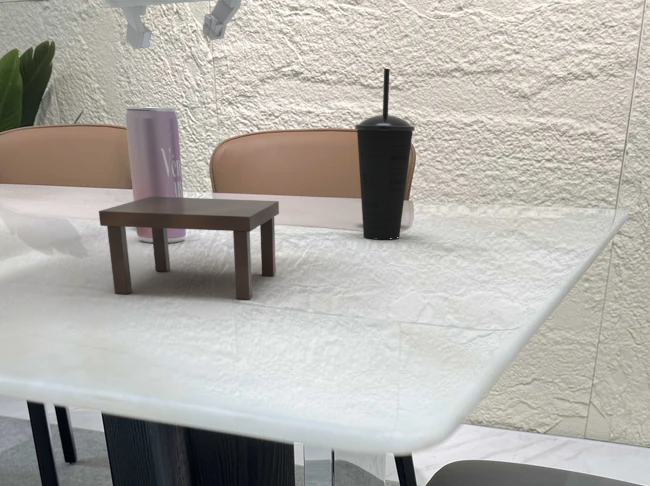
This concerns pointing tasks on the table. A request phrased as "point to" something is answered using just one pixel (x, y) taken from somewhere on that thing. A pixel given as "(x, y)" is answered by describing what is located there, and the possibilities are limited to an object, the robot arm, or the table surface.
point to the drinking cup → (383, 169)
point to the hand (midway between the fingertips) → (176, 40)
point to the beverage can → (154, 159)
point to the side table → (192, 216)
